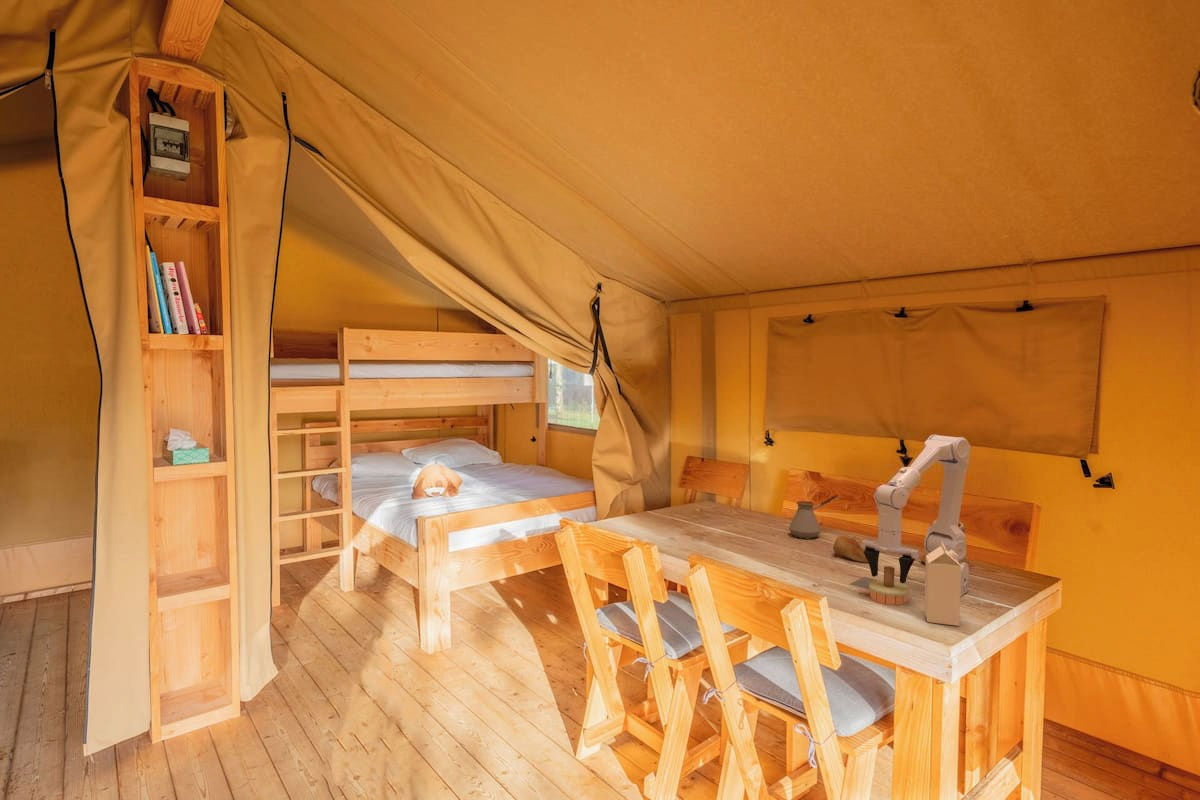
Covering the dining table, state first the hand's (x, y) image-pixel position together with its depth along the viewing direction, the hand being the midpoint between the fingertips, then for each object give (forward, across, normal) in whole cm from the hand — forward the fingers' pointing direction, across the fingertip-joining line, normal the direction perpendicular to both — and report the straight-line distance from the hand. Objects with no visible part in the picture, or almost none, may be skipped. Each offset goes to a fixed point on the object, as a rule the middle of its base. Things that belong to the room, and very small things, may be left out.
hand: (888, 579), depth 178 cm
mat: (+6, -8, +9) cm, 13 cm away
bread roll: (+6, -25, +31) cm, 40 cm away
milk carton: (+6, +15, -4) cm, 17 cm away
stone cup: (+6, -1, +47) cm, 47 cm away
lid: (+3, 0, 0) cm, 3 cm away
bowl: (+6, 0, 0) cm, 6 cm away
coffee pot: (+6, -49, +51) cm, 71 cm away
